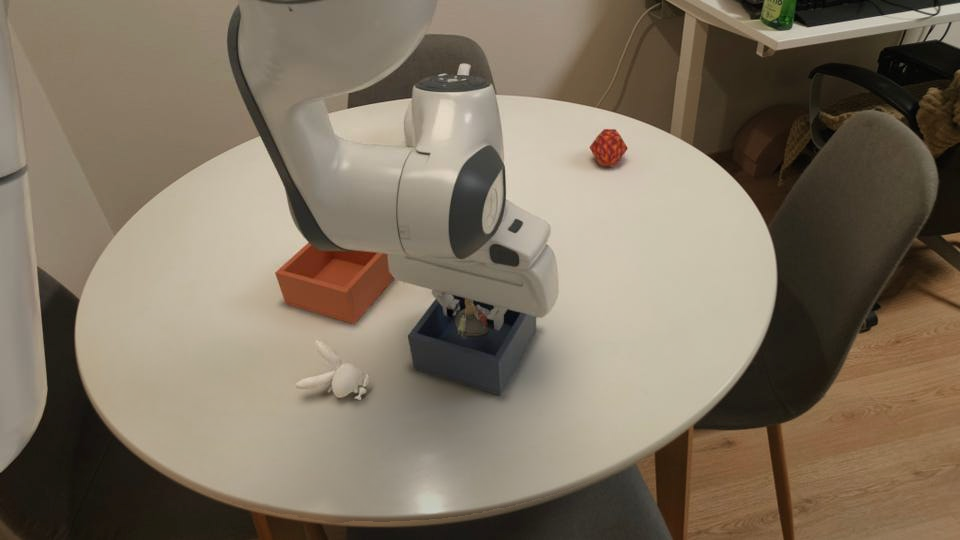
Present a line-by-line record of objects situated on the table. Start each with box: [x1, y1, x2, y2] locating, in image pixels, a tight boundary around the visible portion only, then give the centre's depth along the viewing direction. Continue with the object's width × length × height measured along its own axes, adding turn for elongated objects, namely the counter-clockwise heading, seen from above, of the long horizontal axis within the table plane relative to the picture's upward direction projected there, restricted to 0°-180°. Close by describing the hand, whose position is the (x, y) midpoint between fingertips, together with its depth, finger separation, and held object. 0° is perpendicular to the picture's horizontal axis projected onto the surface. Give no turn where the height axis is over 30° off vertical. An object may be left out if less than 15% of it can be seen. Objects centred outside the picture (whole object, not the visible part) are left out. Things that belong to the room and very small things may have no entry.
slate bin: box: [407, 295, 537, 397], centre depth 77 cm, size 12×12×6 cm
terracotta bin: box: [274, 242, 395, 325], centre depth 88 cm, size 12×12×6 cm
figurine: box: [455, 299, 490, 339], centre depth 75 cm, size 5×4×6 cm
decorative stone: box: [589, 128, 629, 167], centre depth 112 cm, size 6×7×8 cm
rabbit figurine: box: [295, 339, 371, 401], centre depth 74 cm, size 6×4×8 cm
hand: (474, 320), depth 75 cm, fingers closed on figurine, 4 cm apart
